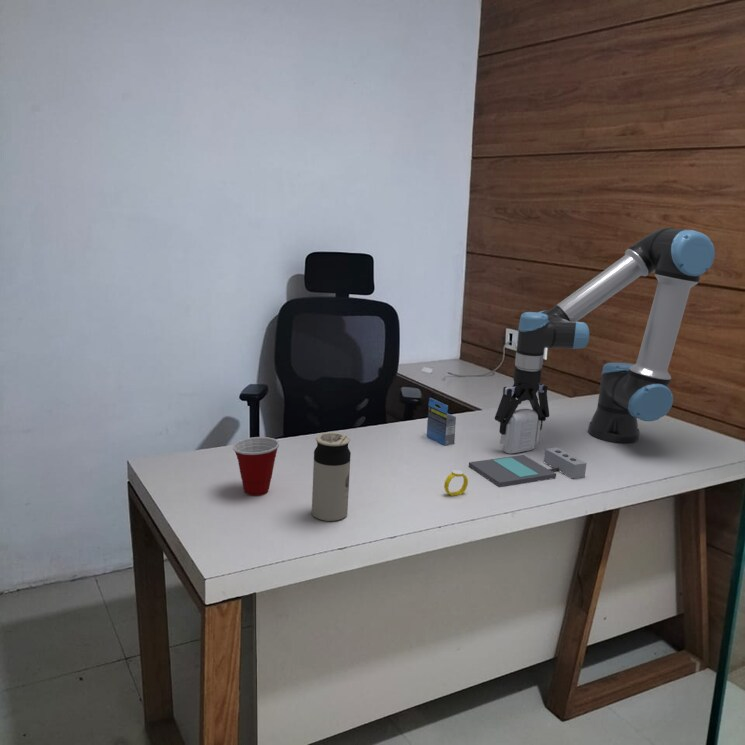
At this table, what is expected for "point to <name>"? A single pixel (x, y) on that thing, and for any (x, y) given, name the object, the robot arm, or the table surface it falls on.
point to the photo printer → (522, 431)
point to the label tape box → (440, 423)
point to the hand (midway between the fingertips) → (519, 442)
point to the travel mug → (331, 476)
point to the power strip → (565, 462)
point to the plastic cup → (256, 463)
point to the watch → (453, 474)
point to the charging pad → (511, 470)
